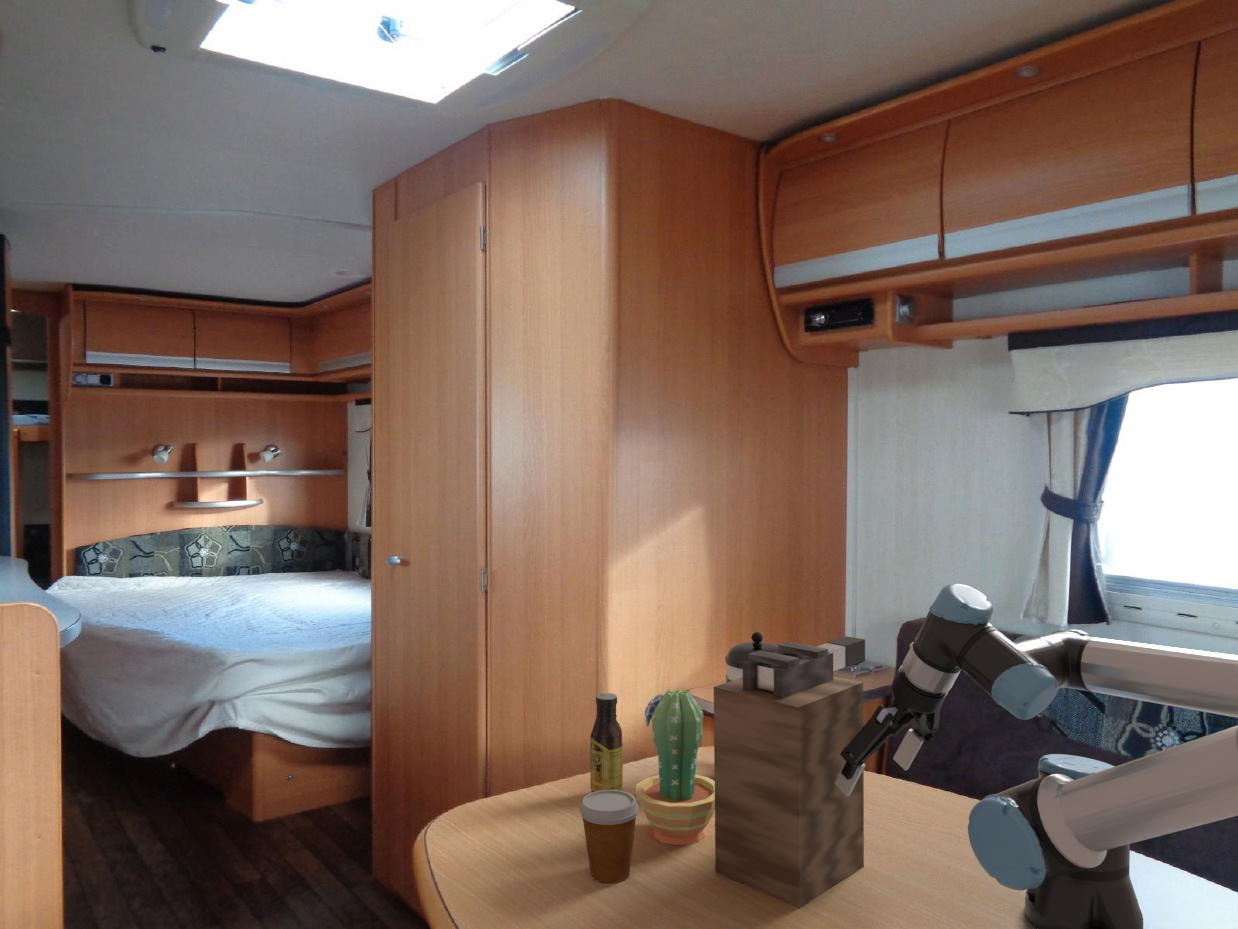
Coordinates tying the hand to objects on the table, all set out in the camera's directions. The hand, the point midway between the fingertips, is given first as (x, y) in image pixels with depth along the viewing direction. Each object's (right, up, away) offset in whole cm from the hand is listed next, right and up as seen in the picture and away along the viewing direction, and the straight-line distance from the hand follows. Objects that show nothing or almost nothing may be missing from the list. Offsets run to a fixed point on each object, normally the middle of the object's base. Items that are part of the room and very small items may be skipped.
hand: (870, 778), depth 149 cm
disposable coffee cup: (-41, -16, +2) cm, 44 cm away
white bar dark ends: (-8, +15, +6) cm, 18 cm away
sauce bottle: (-42, -15, +33) cm, 55 cm away
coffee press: (-13, -14, +41) cm, 45 cm away
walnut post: (-12, -15, +2) cm, 20 cm away
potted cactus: (-29, -15, +16) cm, 37 cm away
